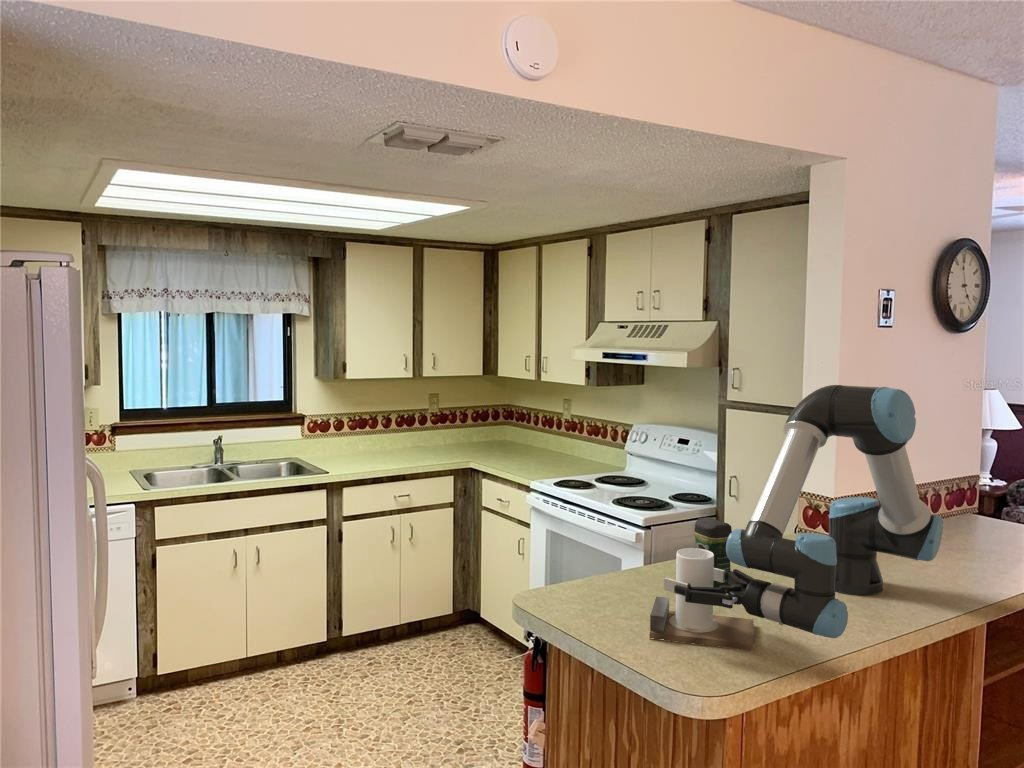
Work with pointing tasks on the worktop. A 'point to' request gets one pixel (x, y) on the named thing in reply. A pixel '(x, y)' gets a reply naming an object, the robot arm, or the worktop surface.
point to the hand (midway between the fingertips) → (682, 576)
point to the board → (719, 634)
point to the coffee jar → (714, 542)
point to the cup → (699, 573)
